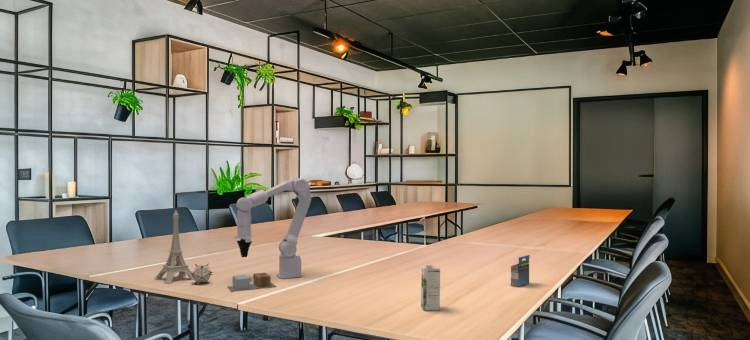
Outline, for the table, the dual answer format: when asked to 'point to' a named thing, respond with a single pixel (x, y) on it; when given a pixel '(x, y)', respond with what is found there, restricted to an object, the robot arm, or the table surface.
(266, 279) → the walnut block
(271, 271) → the table surface
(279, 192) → the robot arm
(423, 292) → the syrup box
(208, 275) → the grey faceted ornament
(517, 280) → the label tape cartridge
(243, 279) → the slate block
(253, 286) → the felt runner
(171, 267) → the eiffel tower
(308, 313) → the table surface
